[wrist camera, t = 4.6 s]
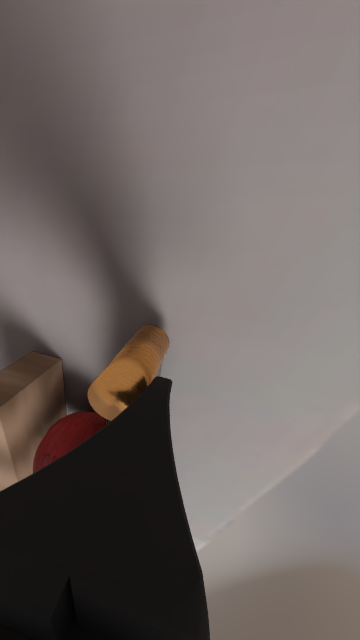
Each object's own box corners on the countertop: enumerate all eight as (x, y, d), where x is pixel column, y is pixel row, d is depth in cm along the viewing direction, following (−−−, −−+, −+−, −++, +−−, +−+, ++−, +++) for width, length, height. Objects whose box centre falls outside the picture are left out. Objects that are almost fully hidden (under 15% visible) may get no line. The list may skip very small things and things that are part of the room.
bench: (151, 484, 24) (130, 556, 19) (48, 451, 25) (1, 510, 20) (169, 387, 18) (147, 454, 12) (32, 351, 19) (-42, 397, 14)
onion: (65, 414, 22) (-11, 503, 15) (85, 383, 20) (6, 470, 12) (110, 443, 22) (58, 542, 15) (135, 416, 20) (87, 518, 13)
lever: (144, 491, 23) (120, 573, 17) (118, 483, 23) (86, 560, 18) (176, 330, 14) (149, 390, 9) (133, 319, 15) (80, 371, 9)
